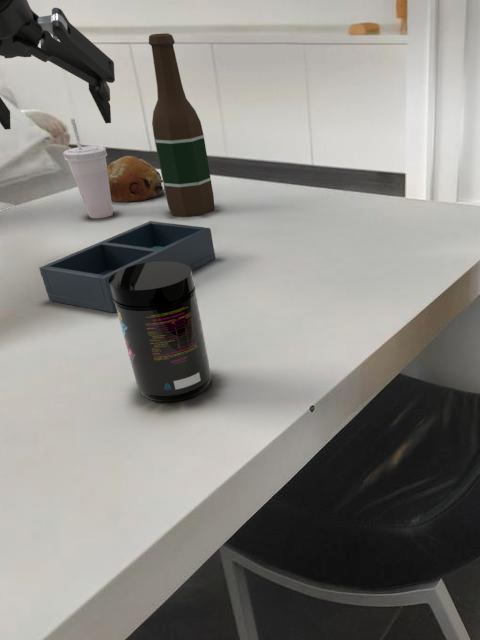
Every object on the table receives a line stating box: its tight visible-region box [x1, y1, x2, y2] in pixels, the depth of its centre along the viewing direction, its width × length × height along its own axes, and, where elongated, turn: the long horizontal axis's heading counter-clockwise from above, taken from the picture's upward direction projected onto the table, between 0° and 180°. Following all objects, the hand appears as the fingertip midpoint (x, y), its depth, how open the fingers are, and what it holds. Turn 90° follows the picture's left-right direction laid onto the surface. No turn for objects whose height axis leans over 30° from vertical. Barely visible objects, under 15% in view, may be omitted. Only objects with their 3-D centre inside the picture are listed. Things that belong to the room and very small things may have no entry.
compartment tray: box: [38, 220, 216, 313], centre depth 85 cm, size 10×19×4 cm, turn 154°
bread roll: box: [107, 155, 164, 203], centre depth 119 cm, size 10×10×8 cm
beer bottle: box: [148, 32, 216, 218], centre depth 104 cm, size 8×8×24 cm
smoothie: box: [62, 118, 114, 219], centre depth 107 cm, size 6×6×14 cm
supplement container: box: [109, 261, 212, 403], centre depth 60 cm, size 7×7×10 cm
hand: (58, 117), depth 94 cm, fingers open, 13 cm apart
